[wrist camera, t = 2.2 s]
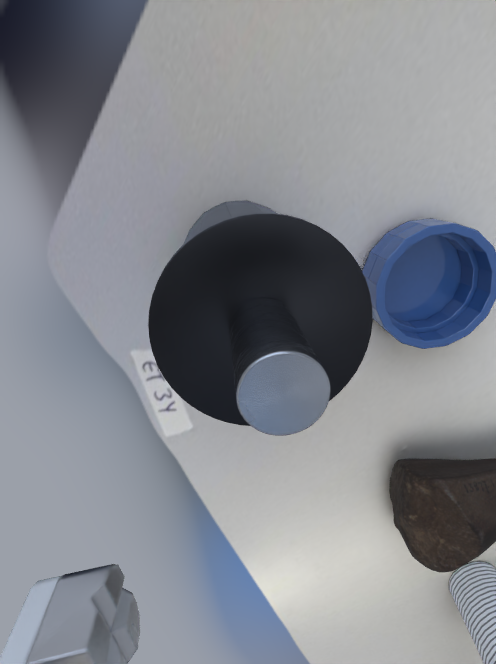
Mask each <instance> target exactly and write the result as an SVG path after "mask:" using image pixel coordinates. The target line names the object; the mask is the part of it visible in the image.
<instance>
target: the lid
mask: <svg viewBox="0 0 496 664" xmlns="http://www.w3.org/2000/svg"><path fill="white" fill-rule="evenodd" d="M148 325H149V338H150V343H151V347H152V352H153V355H154V357H155V360H156V363H157V365H158V367H159V369H160V371H161V373H162V374H163V376H164V378H165V379H166V381H167V382H168V383H169V385H170V386H171V387H172V389H173V390H174V391H175V392H176V393H177V394H178V395H179V396H180V397H181V398H182V399H184V400H185V401H186V402H187V403H189V404H190V405H191V406H192V407H194V408H196V409H197V410H199V411H201V412H202V413H204V414H206V415H208V416H211V417H213V418H215V419H218V420H221V421H224V422H228V423H233V424H238V425H247V426H252V427H253V428H255V429H257V430H258V431H261V432H263V433H266V434H270V435H290V434H294V433H297V432H300V431H302V430H304V429H306V428H308V427H309V426H311V425H312V424H314V423H315V422H316V421H317V420H318V419H319V418H320V417H321V415H322V414H323V412H324V411H325V409H326V407H327V404H328V402H329V401H330V400H331V399H332V398H333V397H335V396H336V395H337V394H338V393H339V392H340V391H341V390H342V389H343V388H344V387H345V386H346V385H347V383H348V382H349V381H350V379H351V378H352V377H353V375H354V374H355V372H356V371H357V369H358V367H359V365H360V364H361V362H362V360H363V357H364V355H365V352H366V350H367V347H368V343H369V339H370V335H371V328H372V303H371V297H370V292H369V288H368V285H367V282H366V279H365V277H364V275H363V273H362V270H361V268H360V266H359V265H358V263H357V262H356V260H355V259H354V257H353V256H352V254H351V253H350V252H349V251H348V250H347V249H346V248H345V247H344V245H343V244H342V243H340V242H339V241H338V240H337V239H336V238H334V237H333V236H332V235H331V234H329V233H328V232H326V231H325V230H323V229H321V228H320V227H318V226H316V225H314V224H312V223H309V222H307V221H305V220H303V219H300V218H296V217H292V216H289V215H284V214H276V213H251V214H244V215H238V216H235V217H231V218H228V219H224V220H222V221H220V222H217V223H215V224H213V225H210V226H209V227H207V228H205V229H204V230H202V231H200V232H199V233H197V234H196V235H194V236H193V237H192V238H191V239H189V240H188V241H187V242H186V243H185V244H184V245H183V246H182V247H181V248H180V249H179V250H178V251H177V252H176V253H175V254H174V255H173V257H172V258H171V260H170V261H169V262H168V264H167V265H166V266H165V268H164V270H163V272H162V274H161V276H160V278H159V280H158V282H157V284H156V287H155V290H154V293H153V295H152V300H151V305H150V310H149V324H148Z"/></svg>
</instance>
